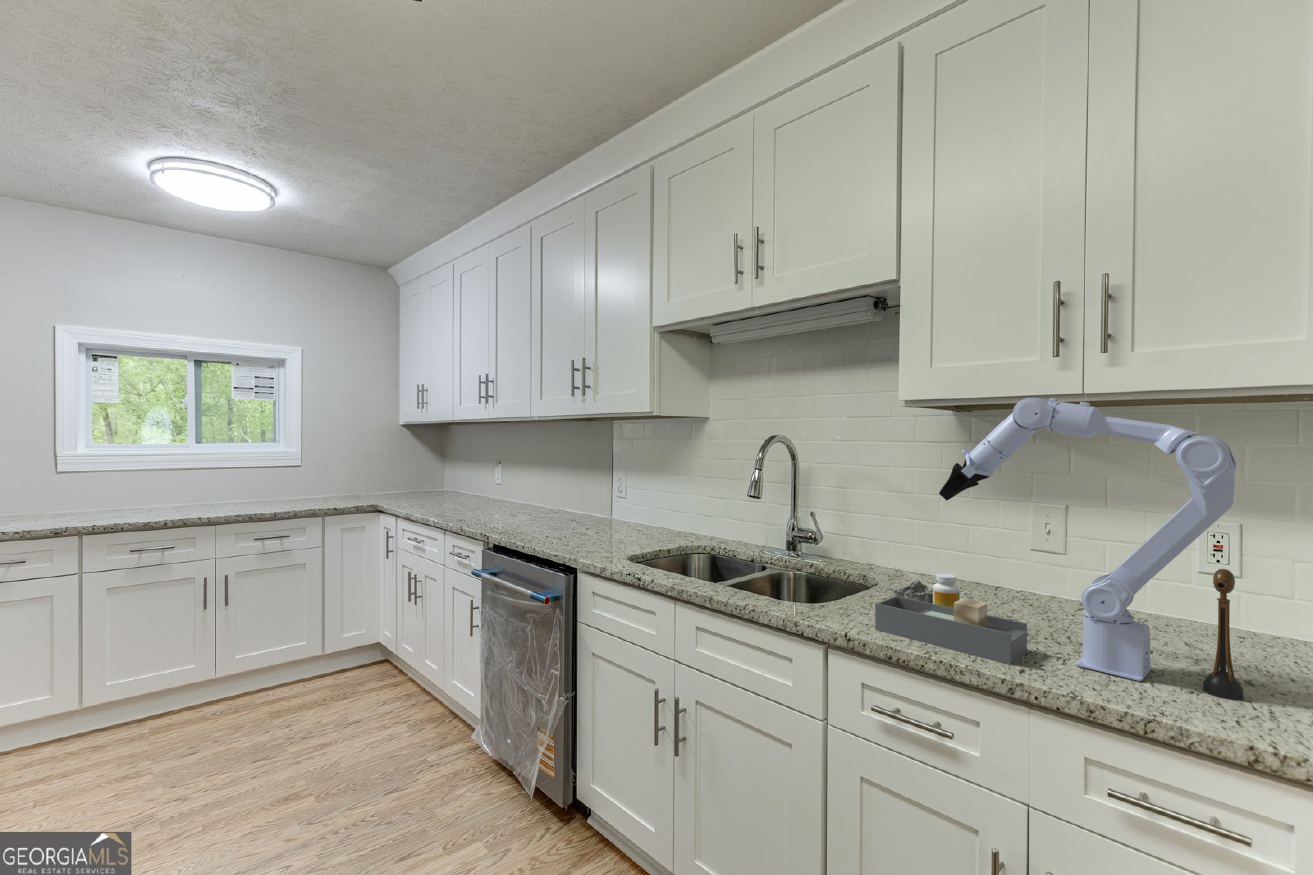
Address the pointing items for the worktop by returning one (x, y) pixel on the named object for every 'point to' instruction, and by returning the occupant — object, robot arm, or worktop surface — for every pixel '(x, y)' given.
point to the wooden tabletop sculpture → (1223, 645)
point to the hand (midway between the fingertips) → (948, 493)
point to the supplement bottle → (945, 590)
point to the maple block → (971, 612)
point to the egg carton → (915, 592)
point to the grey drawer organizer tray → (951, 629)
